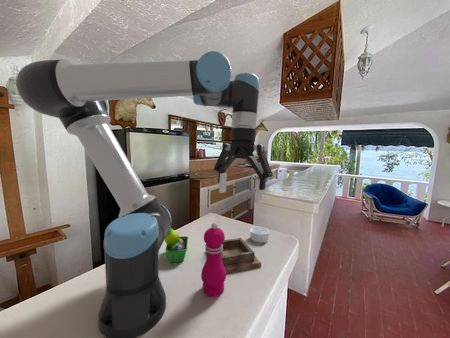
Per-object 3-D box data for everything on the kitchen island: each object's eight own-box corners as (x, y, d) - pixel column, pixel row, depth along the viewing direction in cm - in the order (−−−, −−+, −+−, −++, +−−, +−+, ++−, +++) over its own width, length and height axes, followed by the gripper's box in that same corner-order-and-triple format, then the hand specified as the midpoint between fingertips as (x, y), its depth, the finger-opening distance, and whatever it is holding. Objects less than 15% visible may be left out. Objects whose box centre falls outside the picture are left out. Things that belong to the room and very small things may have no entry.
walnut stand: (217, 274, 64) (217, 261, 64) (206, 251, 80) (206, 240, 79) (261, 266, 69) (261, 254, 69) (242, 245, 85) (243, 235, 84)
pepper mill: (230, 286, 59) (231, 222, 57) (216, 302, 53) (217, 230, 51) (210, 278, 63) (211, 217, 61) (195, 291, 57) (196, 224, 55)
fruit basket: (187, 263, 71) (187, 233, 70) (161, 265, 69) (161, 234, 68) (188, 247, 82) (188, 221, 81) (166, 249, 81) (165, 222, 80)
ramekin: (269, 244, 86) (269, 235, 86) (248, 242, 88) (249, 233, 88) (268, 236, 95) (269, 227, 95) (250, 234, 97) (250, 225, 96)
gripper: (287, 128, 56) (281, 202, 58) (219, 130, 71) (216, 188, 73) (277, 125, 50) (270, 206, 52) (205, 127, 65) (202, 190, 67)
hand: (239, 196), depth 62 cm, fingers open, 13 cm apart
